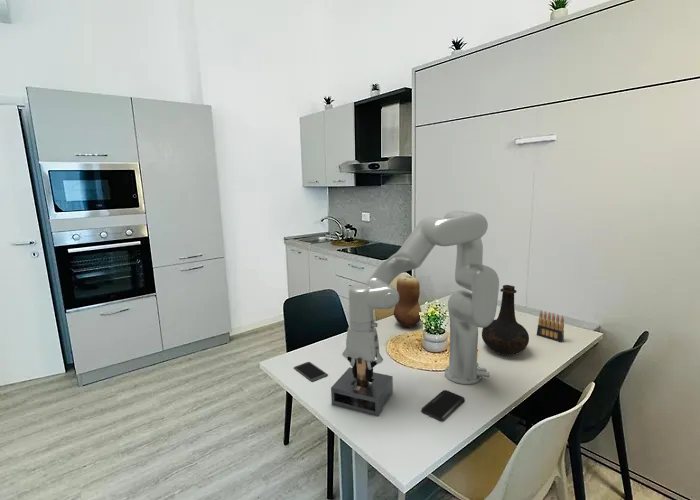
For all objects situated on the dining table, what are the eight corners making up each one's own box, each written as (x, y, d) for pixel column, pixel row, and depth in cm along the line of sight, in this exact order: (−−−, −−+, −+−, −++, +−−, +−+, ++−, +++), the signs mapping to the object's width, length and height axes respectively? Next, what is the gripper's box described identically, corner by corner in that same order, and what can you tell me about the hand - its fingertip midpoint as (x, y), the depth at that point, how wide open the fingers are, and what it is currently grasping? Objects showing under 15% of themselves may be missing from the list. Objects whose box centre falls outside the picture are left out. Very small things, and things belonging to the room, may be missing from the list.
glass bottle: (478, 340, 161) (480, 279, 156) (521, 342, 158) (525, 280, 153) (484, 359, 144) (487, 291, 139) (533, 362, 141) (538, 292, 136)
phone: (465, 398, 117) (442, 420, 107) (465, 401, 117) (442, 423, 107) (444, 389, 123) (419, 409, 112) (443, 392, 123) (419, 412, 112)
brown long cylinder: (360, 390, 122) (358, 345, 119) (371, 392, 120) (370, 347, 118) (354, 397, 118) (353, 351, 115) (366, 400, 116) (364, 353, 114)
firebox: (392, 392, 123) (392, 375, 122) (378, 416, 110) (378, 398, 109) (349, 382, 129) (349, 366, 128) (331, 404, 117) (331, 387, 116)
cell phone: (312, 383, 130) (312, 381, 130) (292, 368, 141) (292, 367, 141) (328, 376, 135) (328, 374, 135) (309, 362, 146) (308, 361, 145)
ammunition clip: (536, 335, 165) (538, 310, 163) (538, 334, 166) (540, 309, 164) (561, 342, 157) (563, 316, 154) (563, 341, 158) (565, 315, 156)
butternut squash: (426, 324, 180) (427, 275, 176) (412, 333, 170) (412, 281, 166) (403, 318, 189) (403, 271, 185) (388, 326, 179) (387, 277, 175)
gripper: (390, 323, 115) (390, 376, 118) (343, 317, 122) (344, 367, 125) (382, 332, 108) (383, 388, 112) (332, 325, 115) (334, 378, 119)
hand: (362, 376), depth 118 cm, fingers closed on brown long cylinder, 3 cm apart
